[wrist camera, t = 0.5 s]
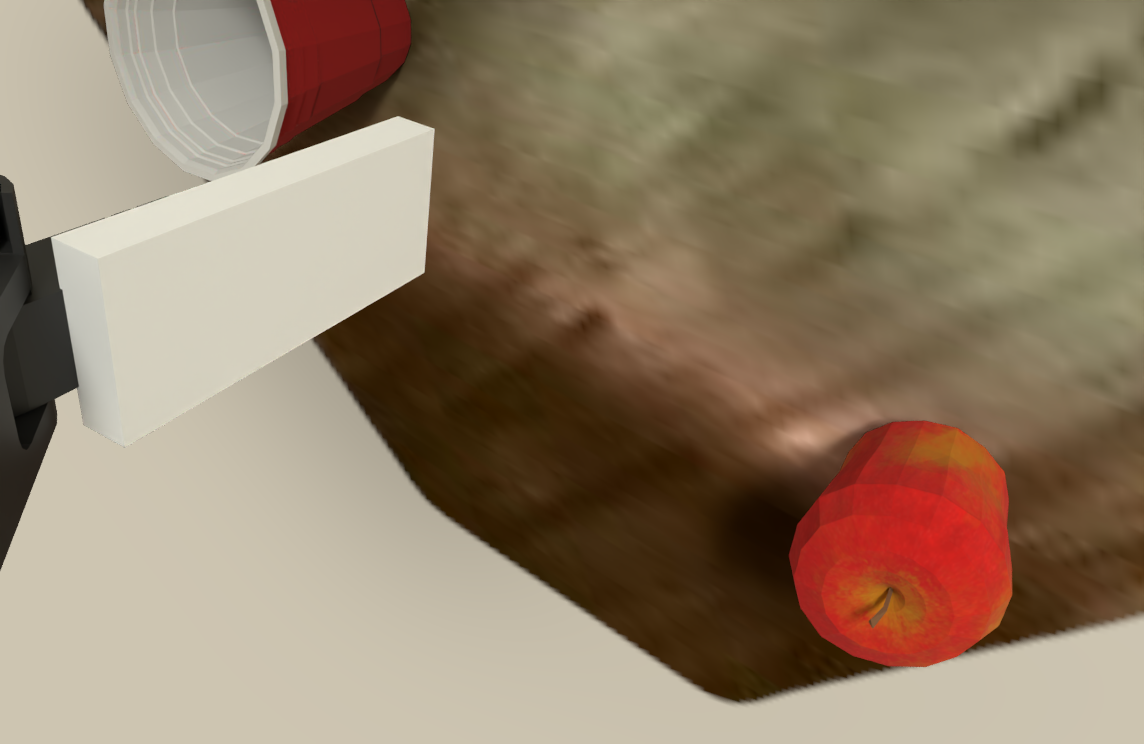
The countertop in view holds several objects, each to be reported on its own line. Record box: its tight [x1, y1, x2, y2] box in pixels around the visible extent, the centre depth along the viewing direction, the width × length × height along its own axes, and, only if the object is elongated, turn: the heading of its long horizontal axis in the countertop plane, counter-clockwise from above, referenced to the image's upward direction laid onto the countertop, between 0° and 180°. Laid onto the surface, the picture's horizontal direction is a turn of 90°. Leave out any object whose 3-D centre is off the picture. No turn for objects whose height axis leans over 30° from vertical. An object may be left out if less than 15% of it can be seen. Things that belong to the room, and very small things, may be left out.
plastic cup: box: [104, 0, 411, 181], centre depth 43 cm, size 11×11×12 cm
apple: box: [789, 421, 1012, 667], centre depth 39 cm, size 9×8×12 cm
